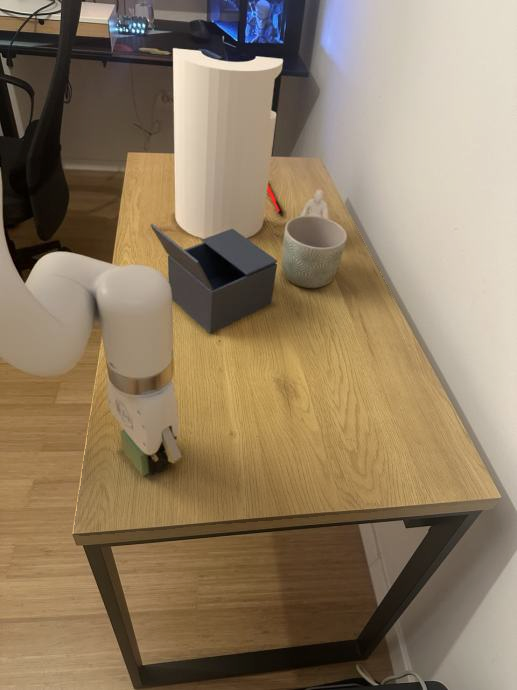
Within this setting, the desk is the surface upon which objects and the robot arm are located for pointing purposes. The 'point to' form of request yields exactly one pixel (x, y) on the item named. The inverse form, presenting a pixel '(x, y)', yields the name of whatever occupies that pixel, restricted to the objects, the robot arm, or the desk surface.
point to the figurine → (316, 206)
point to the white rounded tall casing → (222, 141)
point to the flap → (182, 257)
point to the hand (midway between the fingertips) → (148, 453)
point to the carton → (224, 280)
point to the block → (135, 454)
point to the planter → (312, 250)
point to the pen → (274, 201)
